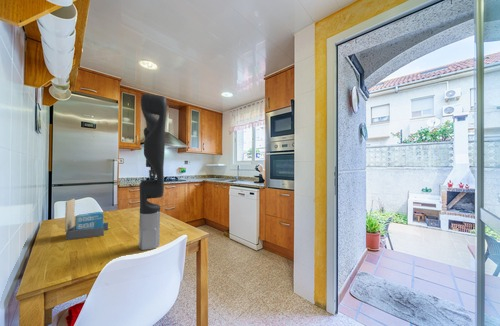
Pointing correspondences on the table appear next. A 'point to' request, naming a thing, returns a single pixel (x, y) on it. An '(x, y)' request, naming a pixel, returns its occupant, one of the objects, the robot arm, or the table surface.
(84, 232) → the mailer box
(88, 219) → the blue carton
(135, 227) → the table surface
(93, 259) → the table surface
